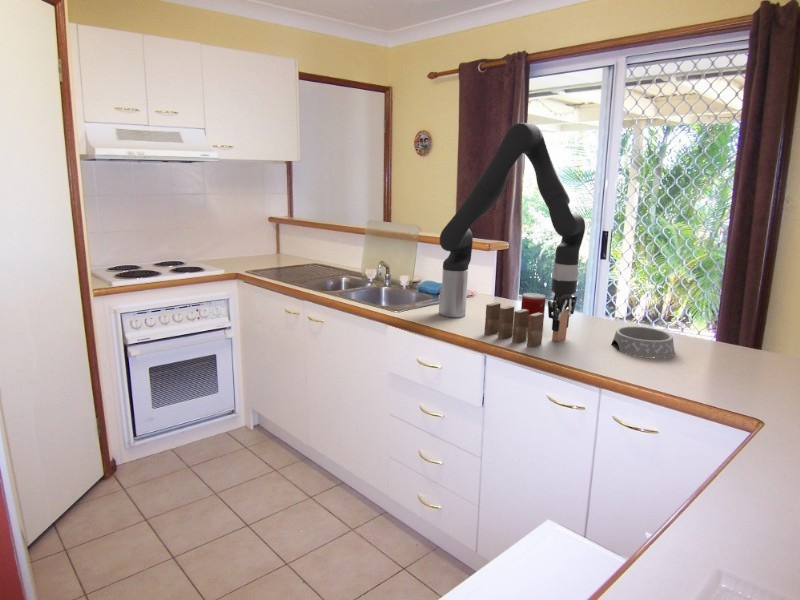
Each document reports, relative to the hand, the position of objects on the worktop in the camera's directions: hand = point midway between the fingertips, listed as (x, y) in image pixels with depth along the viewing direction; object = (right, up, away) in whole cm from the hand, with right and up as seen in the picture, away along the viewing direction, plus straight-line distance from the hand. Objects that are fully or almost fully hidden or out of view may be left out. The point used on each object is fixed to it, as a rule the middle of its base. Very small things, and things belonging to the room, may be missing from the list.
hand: (559, 329), depth 175 cm
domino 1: (-21, -2, +5) cm, 22 cm away
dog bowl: (+24, -6, -6) cm, 25 cm away
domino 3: (-14, -4, -2) cm, 14 cm away
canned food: (-5, 0, +16) cm, 17 cm away
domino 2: (-17, -3, +1) cm, 18 cm away
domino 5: (0, -3, +1) cm, 3 cm away
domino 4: (-10, -5, -6) cm, 13 cm away
